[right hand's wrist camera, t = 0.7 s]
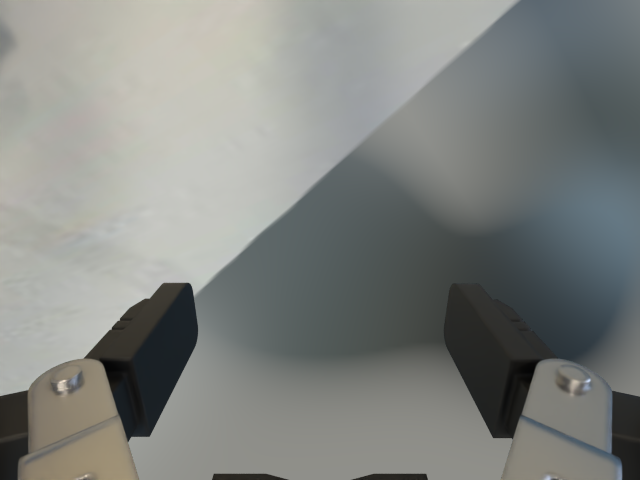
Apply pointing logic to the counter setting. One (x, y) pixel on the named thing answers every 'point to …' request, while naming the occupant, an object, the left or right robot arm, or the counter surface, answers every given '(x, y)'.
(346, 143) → the counter surface
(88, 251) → the counter surface
